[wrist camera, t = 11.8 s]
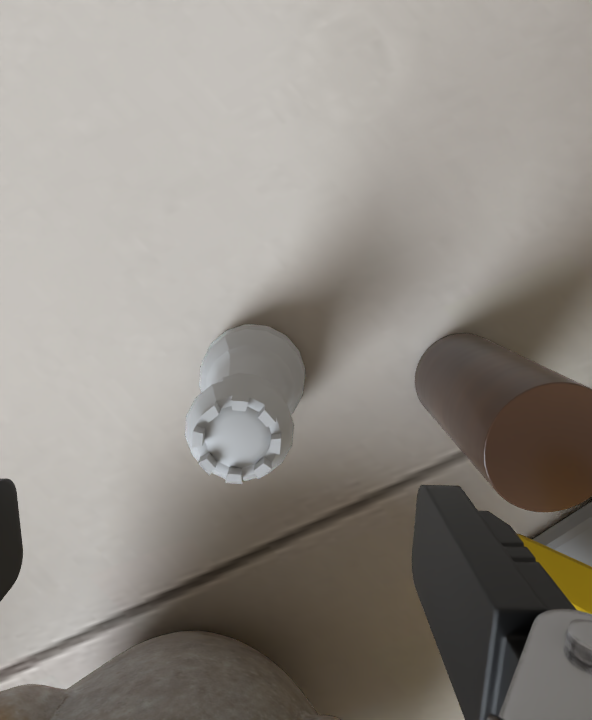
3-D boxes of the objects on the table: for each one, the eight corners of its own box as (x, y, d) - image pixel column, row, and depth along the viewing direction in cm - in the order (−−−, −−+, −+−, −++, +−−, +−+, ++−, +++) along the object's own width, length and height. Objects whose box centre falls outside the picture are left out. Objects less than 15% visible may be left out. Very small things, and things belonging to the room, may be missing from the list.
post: (418, 331, 22) (492, 380, 14) (510, 334, 22) (634, 383, 14) (411, 420, 23) (476, 512, 15) (499, 421, 23) (610, 514, 15)
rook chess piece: (183, 352, 22) (125, 412, 14) (274, 303, 21) (267, 336, 14) (234, 438, 23) (208, 540, 15) (323, 392, 22) (343, 472, 15)
